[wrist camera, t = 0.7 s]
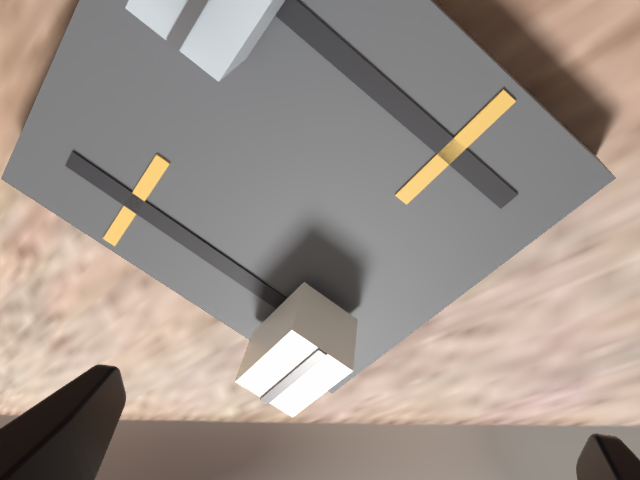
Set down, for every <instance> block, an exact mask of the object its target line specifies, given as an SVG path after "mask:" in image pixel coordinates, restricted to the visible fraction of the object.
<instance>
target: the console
mask: <svg viewBox="0 0 640 480" xmlns="http://www.w3.org/2000/svg"><path fill="white" fill-rule="evenodd" d="M128 1H129V0H79V2H78V4H77V6H76V9H75V11H74V13H73V16H72V18H71V20H70V22H69V25H68V27H67V29H66V32H65V34H64V36H63V38H62V41H61V43H60V45H59V48H58V50H57V52H56V54H55V57H54V59H53V61H52V63H51V66H50V68H49V70H48V73H47V75H46V77H45V79H44V82H43V84H42V86H41V89H40V91H39V93H38V95H37V98H36V100H35V102H34V105H33V107H32V109H31V111H30V114H29V116H28V118H27V121H26V123H25V125H24V127H23V130H22V132H21V134H20V137H19V139H18V141H17V143H16V146H15V148H14V150H13V153H12V155H11V157H10V159H9V162H8V164H7V166H6V168H5V171H4V173H3V175H2V178H1V179H2V180H4V181H5V182H7V183H8V184H10V185H11V186H13V187H14V188H16V189H17V190H19V191H21V192H22V193H24V194H25V195H27V196H28V197H30V198H31V199H33V200H34V201H36V202H38V203H39V204H41V205H42V206H44V207H45V208H47V209H48V210H50V211H51V212H53V213H54V214H56V215H58V216H59V217H61V218H62V219H64V220H65V221H67V222H68V223H70V224H71V225H73V226H75V227H76V228H78V229H79V230H81V231H82V232H84V233H85V234H87V235H88V236H90V237H92V238H93V239H95V240H96V241H98V242H99V243H101V244H102V245H104V246H105V247H107V248H108V249H110V250H112V251H113V252H115V253H116V254H118V255H119V256H121V257H122V258H124V259H125V260H127V261H129V262H130V263H132V264H133V265H135V266H136V267H138V268H139V269H141V270H142V271H144V272H146V273H147V274H149V275H150V276H152V277H153V278H155V279H156V280H158V281H159V282H161V283H162V284H164V285H166V286H167V287H169V288H170V289H172V290H173V291H175V292H176V293H178V294H179V295H181V296H183V297H184V298H186V299H187V300H189V301H190V302H192V303H193V304H195V305H196V306H198V307H200V308H201V309H203V310H204V311H206V312H207V313H209V314H210V315H212V316H213V317H215V318H216V319H218V320H220V321H221V322H223V323H224V324H226V325H227V326H229V327H230V328H232V329H233V330H235V331H237V332H238V333H240V334H241V335H243V336H244V337H246V338H247V339H249V340H250V338H251V335H252V333H253V331H254V330H255V329H256V328H257V327H259V326H260V325H261V324H262V323H263V322H264V321H265V320H266V319H267V318H268V317H269V316H270V315H271V314H272V313H273V312H274V311H275V310H276V309H277V308H278V307H279V306H280V305H281V304H282V303H283V302H284V301H285V300H286V299H287V298H288V297H289V296H290V295H291V294H292V293H293V292H294V291H295V290H296V289H297V288H298V287H299V286H300V285H302V284H303V283H304V282H305V283H306V284H308V285H309V286H311V287H312V288H313V289H315V290H316V291H318V292H319V293H321V294H322V295H323V296H325V297H326V298H328V299H329V300H330V301H332V302H333V303H335V304H336V305H338V306H339V307H340V308H342V309H343V310H345V311H346V312H347V313H349V314H350V315H352V316H353V317H355V318H356V319H357V320H358V325H357V335H356V346H355V356H354V366H353V372H351V373H350V374H349V375H347V376H346V377H345V378H343V379H342V380H341V381H340V382H338V383H337V384H336V385H334V386H333V387H332V388H330V389H329V390H328V391H329V392H331V393H333V392H335V391H336V390H337V389H339V388H340V387H341V386H343V385H344V384H345V383H347V382H348V381H349V380H350V379H352V378H353V377H354V376H356V375H357V374H358V373H360V372H361V371H362V370H364V369H365V368H366V367H368V366H369V365H370V364H372V363H373V362H374V361H376V360H377V359H378V358H379V357H381V356H382V355H383V354H385V353H386V352H387V351H389V350H390V349H391V348H393V347H394V346H395V345H397V344H398V343H399V342H401V341H402V340H403V339H405V338H406V337H407V336H408V335H410V334H411V333H412V332H414V331H415V330H416V329H418V328H419V327H420V326H422V325H423V324H424V323H426V322H427V321H428V320H430V319H431V318H432V317H434V316H435V315H436V314H437V313H439V312H440V311H441V310H443V309H444V308H445V307H447V306H448V305H449V304H451V303H452V302H453V301H455V300H456V299H457V298H459V297H460V296H461V295H463V294H464V293H465V292H466V291H468V290H469V289H470V288H472V287H473V286H474V285H476V284H477V283H478V282H480V281H481V280H482V279H484V278H485V277H486V276H488V275H489V274H490V273H492V272H493V271H494V270H495V269H497V268H498V267H499V266H501V265H502V264H503V263H505V262H506V261H507V260H509V259H510V258H511V257H513V256H514V255H515V254H517V253H518V252H519V251H520V250H522V249H523V248H524V247H526V246H527V245H528V244H530V243H531V242H532V241H534V240H535V239H536V238H538V237H539V236H540V235H542V234H543V233H544V232H546V231H547V230H548V229H549V228H551V227H552V226H553V225H555V224H556V223H557V222H559V221H560V220H561V219H563V218H564V217H565V216H567V215H568V214H569V213H571V212H572V211H573V210H575V209H576V208H577V207H578V206H580V205H581V204H582V203H584V202H585V201H586V200H588V199H589V198H590V197H592V196H593V195H594V194H596V193H597V192H598V191H600V190H601V189H602V188H604V187H605V186H606V185H607V184H609V183H610V182H611V181H613V180H614V179H615V177H614V175H613V174H612V173H611V172H610V171H609V170H608V169H607V168H606V167H605V165H604V164H603V163H602V162H601V161H600V160H599V159H598V158H597V156H596V155H595V154H593V153H592V152H591V151H590V150H589V149H588V148H587V147H586V146H585V145H584V144H583V143H582V142H581V141H580V140H579V139H578V138H577V137H576V136H575V135H574V134H573V133H572V132H571V131H570V130H568V129H567V128H566V127H565V126H564V125H563V124H562V123H561V122H560V121H559V120H558V119H557V118H556V117H555V116H554V115H553V114H552V113H551V112H550V111H549V110H548V109H547V108H546V107H545V106H543V105H542V104H541V103H540V102H539V101H538V100H537V99H536V98H535V97H534V96H533V95H532V94H531V93H530V92H529V91H528V90H527V89H526V88H525V87H524V86H523V85H522V84H521V83H519V82H518V81H517V80H516V79H515V78H514V77H513V76H512V75H511V74H510V73H509V72H508V71H507V70H506V69H505V68H504V67H503V66H502V65H501V64H500V63H499V62H498V61H497V60H496V59H494V58H493V57H492V56H491V55H490V54H489V53H488V52H487V51H486V50H485V49H484V48H483V47H482V46H481V45H480V44H479V43H478V42H477V41H476V40H475V39H474V38H473V37H472V36H471V35H469V34H468V33H467V32H466V31H465V30H464V29H463V28H462V27H461V26H460V25H459V24H458V23H457V22H456V21H455V20H454V19H453V18H452V17H451V16H450V15H449V14H448V13H447V12H446V11H444V10H443V9H442V8H441V7H440V6H439V5H438V4H437V3H436V2H435V1H434V0H285V1H284V3H283V4H282V6H281V7H280V9H279V10H278V12H277V13H276V15H275V16H274V18H273V19H272V21H271V22H270V24H269V25H268V27H267V28H266V30H265V31H264V33H263V34H262V36H261V37H260V39H259V40H258V41H257V43H256V44H255V46H254V47H253V49H252V50H251V52H250V53H249V55H248V56H247V58H246V59H245V60H244V61H243V62H241V63H240V64H239V65H238V66H237V67H236V68H234V69H233V70H232V71H231V72H230V73H229V74H227V75H226V76H225V77H224V78H223V79H222V80H220V81H219V82H218V81H217V80H216V79H214V78H213V77H212V76H210V75H209V74H208V73H207V72H205V71H204V70H203V69H202V68H200V67H199V66H198V65H197V64H195V63H194V62H193V61H191V60H190V59H189V58H188V57H186V56H185V55H184V54H183V53H181V52H180V51H176V50H175V49H174V48H173V47H171V46H170V45H169V44H168V43H166V40H165V39H164V38H162V37H161V36H160V35H158V34H157V33H156V32H155V31H153V30H152V29H151V28H150V27H148V26H147V25H146V24H145V23H143V22H142V21H141V20H139V19H138V18H137V17H136V16H134V15H133V14H132V13H131V12H129V11H128V10H127V9H126V8H125V7H126V5H127V3H128Z"/></svg>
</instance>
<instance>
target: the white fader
mask: <svg viewBox="0 0 640 480" xmlns="http://www.w3.org/2000/svg"><path fill="white" fill-rule="evenodd" d="M284 1H285V0H129V1H128V3H127V5H126V7H125V8H126V9H127V10H128V11H129V12H131V13H132V14H133V15H134V16H136V17H137V18H138V19H139V20H141V21H142V22H143V23H145V24H146V25H147V26H148V27H150V28H151V29H152V30H153V31H155V32H156V33H157V34H158V35H160V36H161V37H162V38H164V39H165V40H166V43H168V44H169V45H170V46H171V47H173V48H174V49H175V50H176V51H180V52H181V53H183V54H184V55H185V56H186V57H188V58H189V59H190V60H191V61H193V62H194V63H195V64H197V65H198V66H199V67H200V68H202V69H203V70H204V71H205V72H207V73H208V74H209V75H210V76H212V77H213V78H214V79H216V80H217V81H218V82H219V81H220V80H222V79H223V78H224V77H225V76H226V75H227V74H229V73H230V72H231V71H232V70H233V69H234V68H236V67H237V66H238V65H239V64H240V63H241V62H243V61H244V60H245V59H246V58H247V56H248V55H249V53H250V52H251V50H252V49H253V47H254V46H255V44H256V43H257V41H258V40H259V39H260V37H261V36H262V34H263V33H264V31H265V30H266V28H267V27H268V25H269V24H270V22H271V21H272V19H273V18H274V16H275V15H276V13H277V12H278V10H279V9H280V7H281V6H282V4H283V3H284Z"/></svg>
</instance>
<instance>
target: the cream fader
mask: <svg viewBox="0 0 640 480" xmlns="http://www.w3.org/2000/svg"><path fill="white" fill-rule="evenodd" d="M357 325H358V320H357V319H356V318H355V317H353V316H352V315H350V314H349V313H347V312H346V311H345V310H343V309H342V308H340V307H339V306H338V305H336V304H335V303H333V302H332V301H330V300H329V299H328V298H326V297H325V296H323V295H322V294H321V293H319V292H318V291H316V290H315V289H313V288H312V287H311V286H309V285H308V284H306V283H305V282H304V283H303V284H302V285H300V286H299V287H298V288H297V289H296V290H295V291H294V292H293V293H292V294H291V295H290V296H289V297H288V298H287V299H286V300H285V301H284V302H283V303H282V304H281V305H280V306H279V307H278V308H277V309H276V310H275V311H274V312H273V313H272V314H271V315H270V316H269V317H268V318H267V319H266V320H265V321H264V322H263V323H262V324H261V325H260V326H259V327H257V328H256V329H255V330H254V331H253V333H252V335H251V338H250V341H249V344H248V347H247V350H246V352H245V355H244V358H243V361H242V364H241V366H240V369H239V372H238V375H237V378H236V381H235V382H236V383H238V384H239V385H241V386H242V387H244V388H246V389H247V390H249V391H251V392H252V393H254V394H255V395H257V396H259V397H260V400H262V401H263V402H265V403H266V404H269V403H270V404H272V405H273V406H275V407H276V408H278V409H280V410H281V411H283V412H285V413H286V414H288V415H289V416H291V417H294V416H295V415H297V414H298V413H299V412H300V411H302V410H303V409H304V408H306V407H307V406H308V405H310V404H311V403H312V402H314V401H315V400H316V399H317V398H319V397H320V396H321V395H323V394H324V393H325V392H327V391H328V390H329V389H330V388H332V387H333V386H334V385H336V384H337V383H338V382H340V381H341V380H342V379H343V378H345V377H346V376H347V375H349V374H350V373H351V372H353V366H354V356H355V346H356V335H357Z"/></svg>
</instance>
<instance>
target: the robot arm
mask: <svg viewBox="0 0 640 480" xmlns="http://www.w3.org/2000/svg"><path fill="white" fill-rule="evenodd" d="M125 402H126V392H125V389H124V385H123V381H122V377H121V373H120V370H119V369H118V368H117V367H115V366H109V365H96V366H94V367H92V368H91V369H89V370H88V371H86V372H85V373H83V374H82V375H80V376H79V377H77V378H76V379H74V380H73V381H71V382H70V383H68V384H67V385H65V386H64V387H62V388H61V389H59V390H57V391H56V392H54V393H53V394H51V395H50V396H48V397H47V398H45V399H44V400H42V401H41V402H39V403H38V404H36V405H35V406H33V407H32V408H30V409H29V410H27V411H26V412H24V413H23V414H21V415H20V416H18V417H17V418H15V419H14V420H12V421H11V422H9V423H8V424H6V425H5V426H3V427H2V428H0V480H95V478H96V476H97V473H98V471H99V468H100V466H101V464H102V461H103V459H104V456H105V454H106V451H107V449H108V446H109V444H110V441H111V439H112V436H113V434H114V431H115V428H116V426H117V423H118V421H119V418H120V416H121V413H122V411H123V408H124V406H125ZM576 470H577V471H576V472H577V479H578V480H640V460H639V459H638V458H637V457H636V455H635V454H634V453H633V452H632V451H631V450H630V449H629V448H628V447H627V446H626V445H625V444H624V443H623V442H622V441H621V440H620V439H619V438H617V437H615V436H611V435H604V434H592V435H591V436H590V437H589V438H588V441H587V442H586V444H585V446H584V448H583V450H582V452H581V454H580V456H579V458H578V461H577V466H576Z"/></svg>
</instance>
